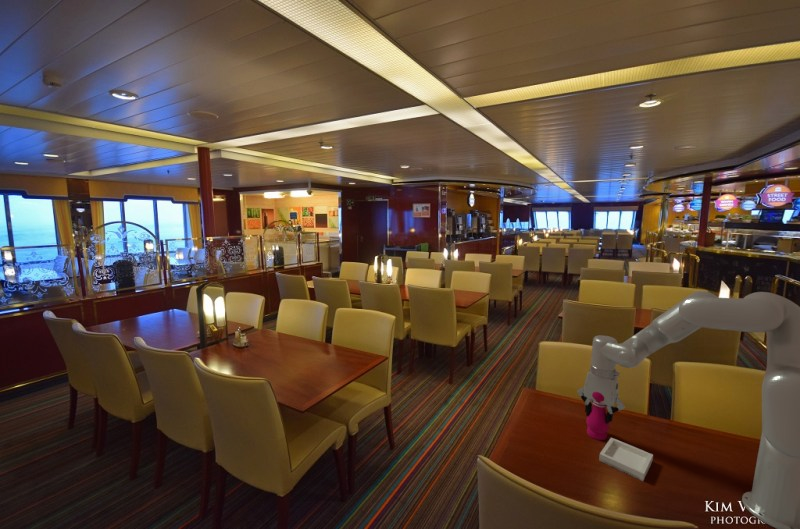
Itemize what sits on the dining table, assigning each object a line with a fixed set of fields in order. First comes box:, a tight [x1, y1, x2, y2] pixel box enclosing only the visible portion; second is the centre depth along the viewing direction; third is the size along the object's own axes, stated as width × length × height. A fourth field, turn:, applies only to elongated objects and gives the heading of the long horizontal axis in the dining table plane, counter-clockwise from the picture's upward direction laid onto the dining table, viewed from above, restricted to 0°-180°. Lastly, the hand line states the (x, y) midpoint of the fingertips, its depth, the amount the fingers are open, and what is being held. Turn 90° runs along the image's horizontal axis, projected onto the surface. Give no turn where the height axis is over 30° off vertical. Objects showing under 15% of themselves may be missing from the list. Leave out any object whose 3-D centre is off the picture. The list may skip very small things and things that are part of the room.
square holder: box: [598, 437, 654, 482], centre depth 111 cm, size 12×12×2 cm
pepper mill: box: [585, 392, 610, 441], centre depth 123 cm, size 7×7×20 cm
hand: (598, 417), depth 124 cm, fingers closed on pepper mill, 5 cm apart
